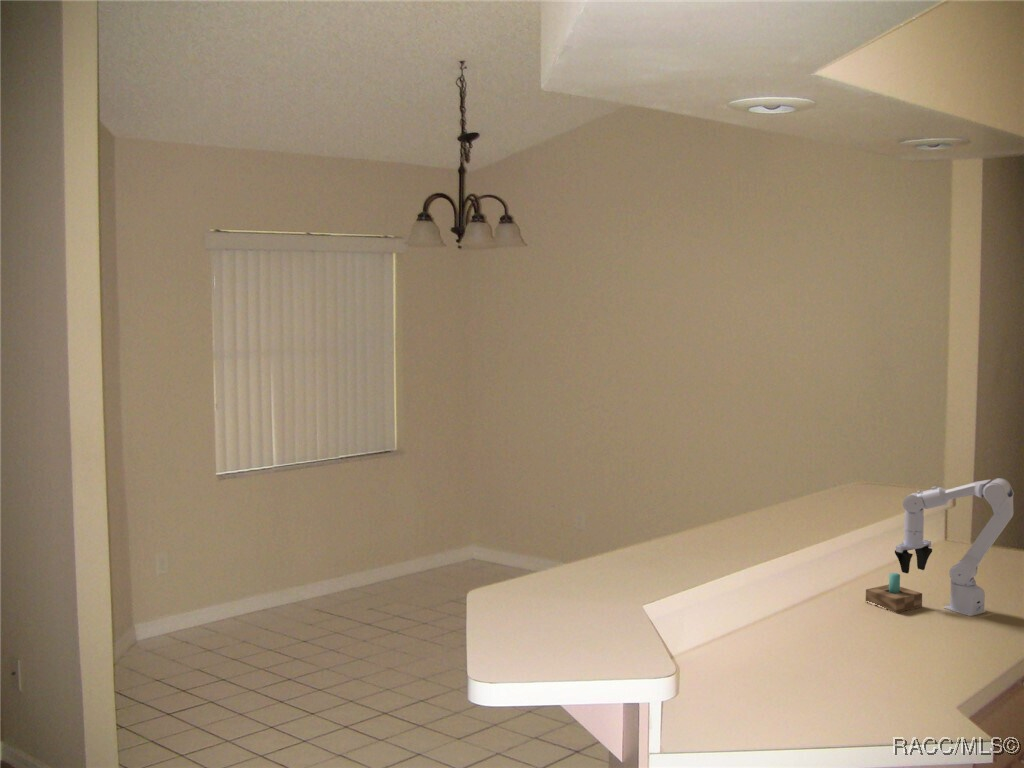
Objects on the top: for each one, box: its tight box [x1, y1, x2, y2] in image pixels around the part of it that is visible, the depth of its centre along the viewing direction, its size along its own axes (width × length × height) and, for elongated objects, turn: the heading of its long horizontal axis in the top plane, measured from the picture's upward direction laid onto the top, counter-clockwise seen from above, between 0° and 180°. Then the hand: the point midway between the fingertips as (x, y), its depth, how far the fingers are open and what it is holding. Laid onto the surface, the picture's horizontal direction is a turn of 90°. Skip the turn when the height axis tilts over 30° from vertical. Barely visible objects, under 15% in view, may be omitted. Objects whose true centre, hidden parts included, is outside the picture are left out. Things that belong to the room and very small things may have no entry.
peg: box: [888, 572, 901, 594], centre depth 304 cm, size 3×3×9 cm
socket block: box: [865, 584, 923, 614], centre depth 304 cm, size 12×12×4 cm
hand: (913, 571), depth 308 cm, fingers open, 7 cm apart
